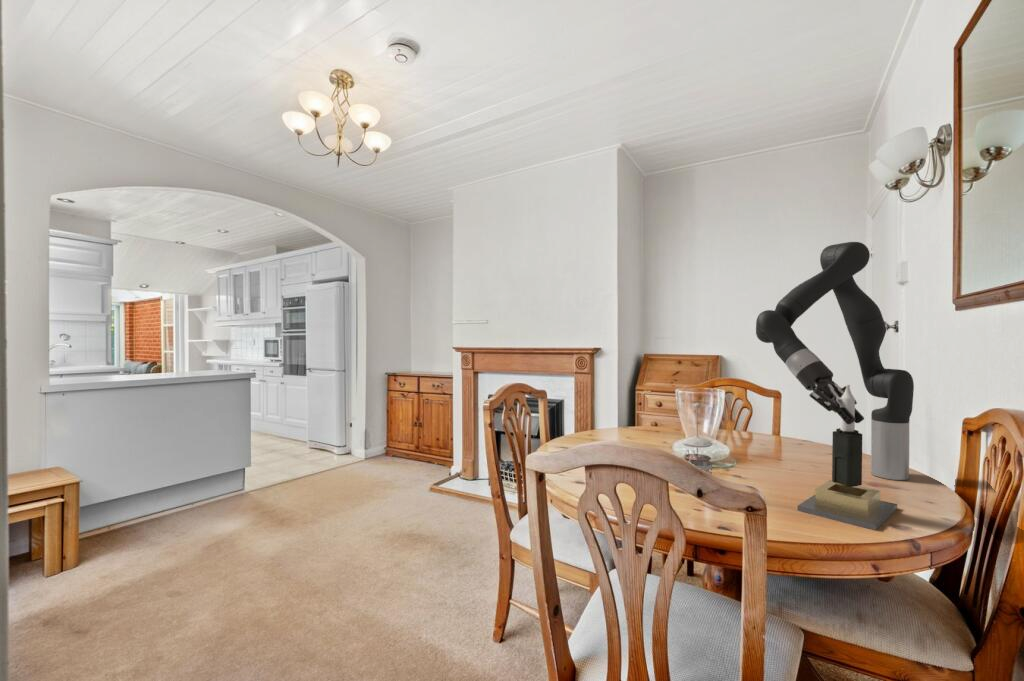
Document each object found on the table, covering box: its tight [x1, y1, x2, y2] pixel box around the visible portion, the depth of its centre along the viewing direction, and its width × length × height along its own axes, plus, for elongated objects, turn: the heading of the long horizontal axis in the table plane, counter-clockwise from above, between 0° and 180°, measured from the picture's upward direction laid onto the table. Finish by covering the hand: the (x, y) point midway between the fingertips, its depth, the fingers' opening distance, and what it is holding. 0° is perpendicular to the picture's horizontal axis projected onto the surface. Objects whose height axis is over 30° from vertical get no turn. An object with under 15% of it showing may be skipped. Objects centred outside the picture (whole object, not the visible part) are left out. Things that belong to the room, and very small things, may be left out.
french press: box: [682, 402, 713, 475], centre depth 134 cm, size 10×12×25 cm
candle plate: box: [797, 479, 898, 531], centre depth 119 cm, size 20×16×5 cm
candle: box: [831, 384, 863, 487], centre depth 119 cm, size 5×5×25 cm
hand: (856, 421), depth 117 cm, fingers closed on candle, 3 cm apart
